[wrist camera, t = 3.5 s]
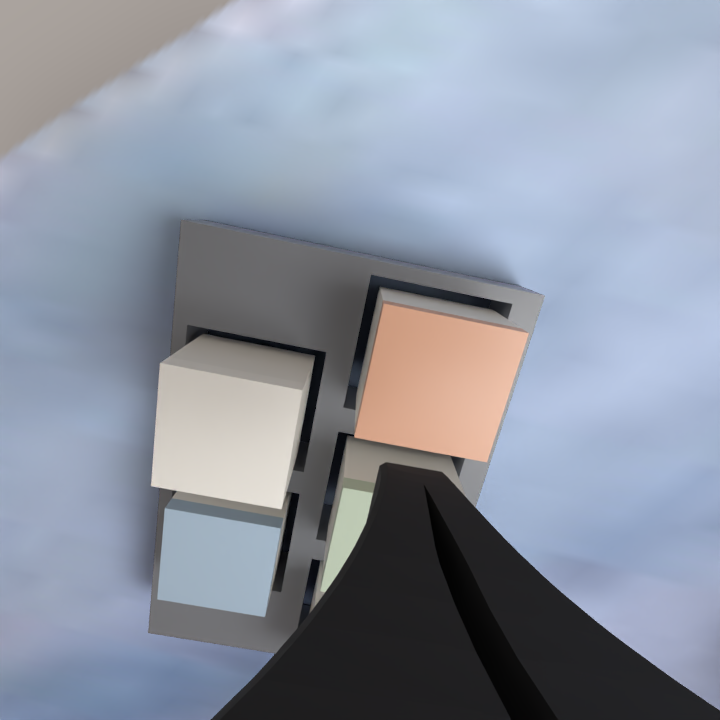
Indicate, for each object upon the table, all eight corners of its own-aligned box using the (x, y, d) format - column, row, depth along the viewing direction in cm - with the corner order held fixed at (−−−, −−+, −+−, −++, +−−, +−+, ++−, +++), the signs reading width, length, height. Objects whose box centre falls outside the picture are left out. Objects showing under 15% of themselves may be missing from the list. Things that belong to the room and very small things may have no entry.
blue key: (281, 551, 21) (264, 616, 17) (192, 536, 20) (157, 599, 17) (295, 474, 19) (280, 528, 16) (200, 457, 19) (164, 508, 16)
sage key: (424, 540, 19) (438, 611, 15) (328, 523, 19) (320, 591, 15) (450, 455, 18) (471, 511, 14) (347, 435, 17) (343, 487, 14)
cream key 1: (297, 453, 18) (281, 509, 14) (193, 434, 17) (151, 486, 14) (315, 355, 16) (302, 390, 13) (203, 333, 16) (160, 363, 13)
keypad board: (414, 630, 23) (419, 676, 20) (170, 590, 22) (148, 633, 20) (521, 286, 17) (545, 295, 15) (205, 220, 17) (181, 219, 14)
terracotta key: (462, 414, 17) (486, 462, 14) (356, 394, 17) (354, 437, 13) (493, 309, 16) (529, 333, 12) (379, 286, 16) (383, 303, 12)
